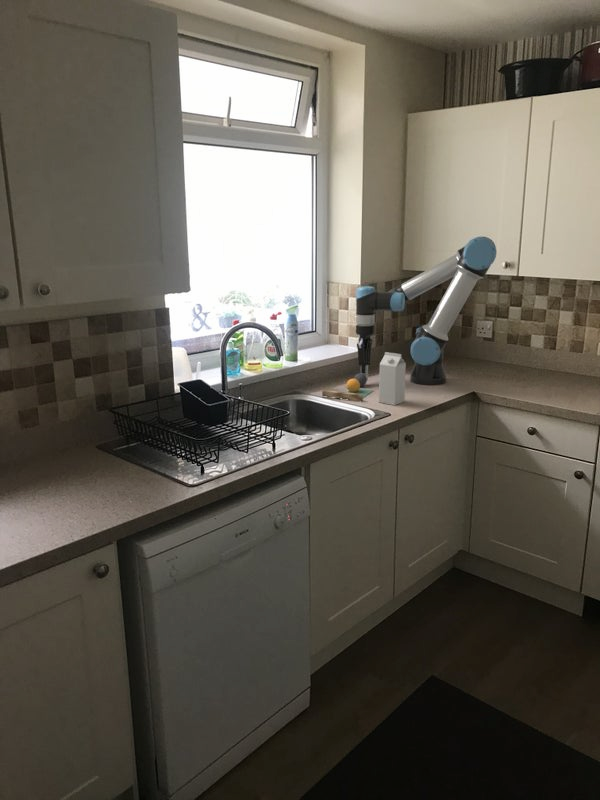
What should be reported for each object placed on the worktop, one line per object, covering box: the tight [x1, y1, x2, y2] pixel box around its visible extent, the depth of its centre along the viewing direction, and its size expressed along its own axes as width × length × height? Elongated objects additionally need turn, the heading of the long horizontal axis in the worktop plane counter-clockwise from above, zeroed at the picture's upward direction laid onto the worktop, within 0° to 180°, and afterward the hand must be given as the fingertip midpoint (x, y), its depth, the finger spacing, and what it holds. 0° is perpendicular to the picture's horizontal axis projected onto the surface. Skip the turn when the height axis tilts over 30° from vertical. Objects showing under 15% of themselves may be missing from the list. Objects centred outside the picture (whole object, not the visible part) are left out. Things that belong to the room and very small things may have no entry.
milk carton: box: [378, 351, 407, 406], centre depth 247 cm, size 7×7×19 cm
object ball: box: [345, 378, 361, 392], centre depth 264 cm, size 6×6×6 cm
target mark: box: [348, 388, 374, 399], centre depth 263 cm, size 14×14×1 cm
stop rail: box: [321, 389, 364, 402], centre depth 255 cm, size 16×2×2 cm, turn 65°
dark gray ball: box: [353, 372, 368, 388], centre depth 273 cm, size 6×6×6 cm
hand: (364, 380), depth 276 cm, fingers closed
